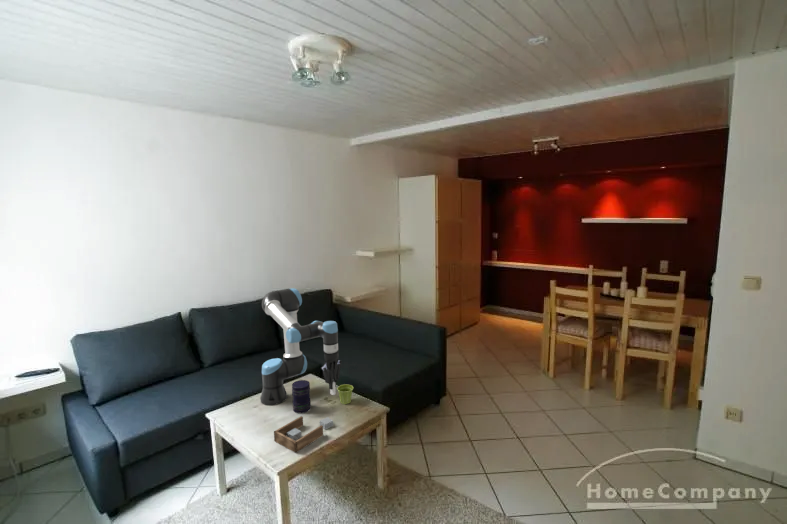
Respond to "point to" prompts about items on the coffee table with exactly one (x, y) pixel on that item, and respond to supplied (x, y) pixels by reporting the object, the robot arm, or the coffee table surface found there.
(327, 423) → the tile
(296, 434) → the tile
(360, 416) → the coffee table surface
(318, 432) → the frame
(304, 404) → the storage jar
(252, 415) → the coffee table surface
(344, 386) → the plant pot
